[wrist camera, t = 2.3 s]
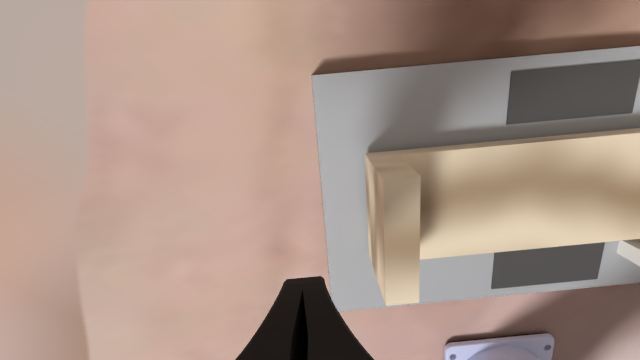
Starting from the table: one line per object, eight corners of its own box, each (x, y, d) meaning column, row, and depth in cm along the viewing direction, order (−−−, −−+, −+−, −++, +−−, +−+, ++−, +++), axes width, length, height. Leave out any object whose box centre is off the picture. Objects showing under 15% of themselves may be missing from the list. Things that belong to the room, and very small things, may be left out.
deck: (811, 254, 23) (839, 264, 22) (331, 300, 23) (332, 313, 22) (913, 20, 19) (956, 17, 17) (311, 75, 18) (311, 75, 17)
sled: (724, 221, 20) (837, 262, 16) (369, 255, 20) (386, 305, 16) (758, 116, 18) (898, 131, 14) (364, 153, 18) (382, 179, 14)
